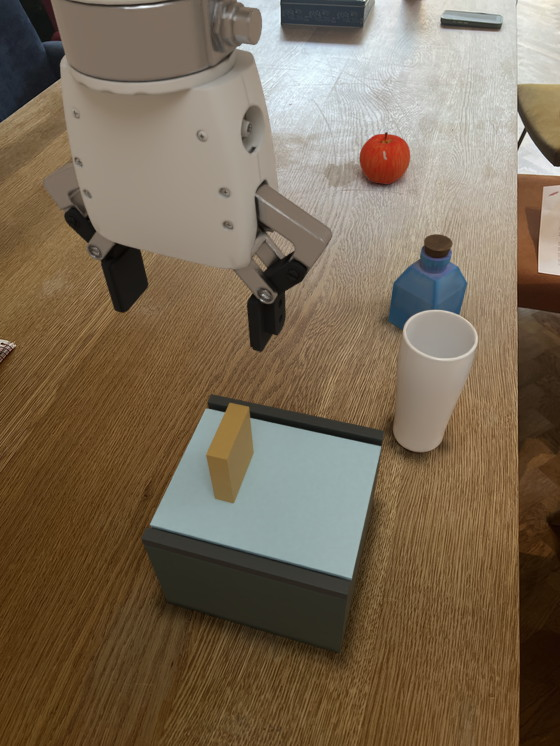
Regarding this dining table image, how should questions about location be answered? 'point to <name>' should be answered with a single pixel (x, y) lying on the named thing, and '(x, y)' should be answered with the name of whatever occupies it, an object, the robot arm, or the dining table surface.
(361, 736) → the dining table surface
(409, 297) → the perfume bottle
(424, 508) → the dining table surface
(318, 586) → the display box
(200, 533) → the box lid
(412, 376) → the drinking glass
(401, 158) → the apple
